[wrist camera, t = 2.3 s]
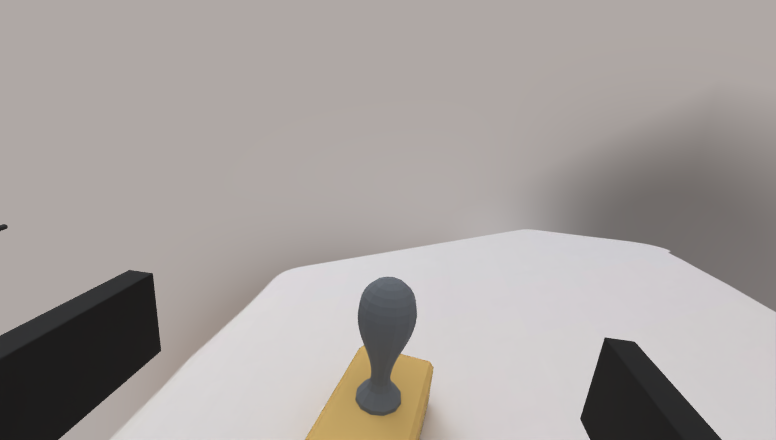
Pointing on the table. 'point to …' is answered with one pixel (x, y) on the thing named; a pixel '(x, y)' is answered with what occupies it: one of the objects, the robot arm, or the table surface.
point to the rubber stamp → (380, 374)
